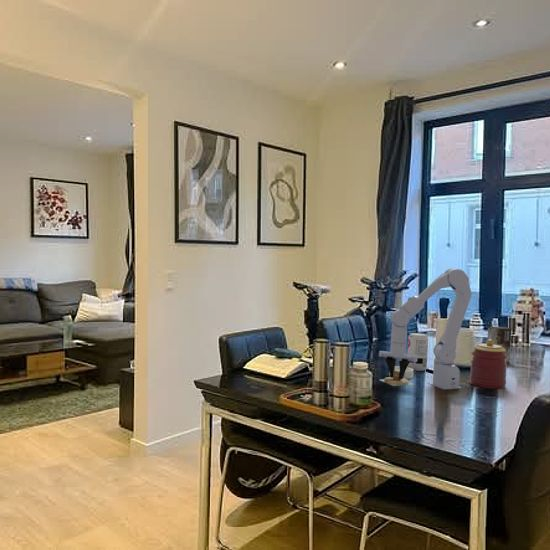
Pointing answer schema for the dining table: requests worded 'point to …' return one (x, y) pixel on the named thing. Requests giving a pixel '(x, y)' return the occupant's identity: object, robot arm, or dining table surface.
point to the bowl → (406, 372)
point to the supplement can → (418, 350)
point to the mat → (397, 385)
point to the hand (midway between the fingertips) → (396, 378)
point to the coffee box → (501, 338)
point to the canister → (488, 366)
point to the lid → (396, 379)
